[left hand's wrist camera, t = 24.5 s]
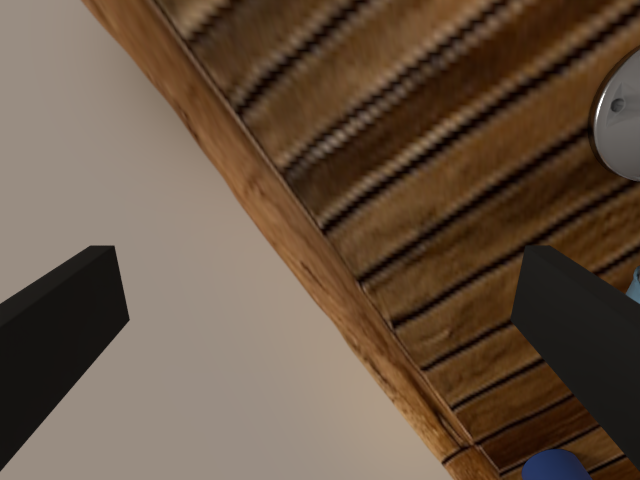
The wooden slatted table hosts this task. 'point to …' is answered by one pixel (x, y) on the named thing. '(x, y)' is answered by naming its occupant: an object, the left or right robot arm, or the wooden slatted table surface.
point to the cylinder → (554, 466)
